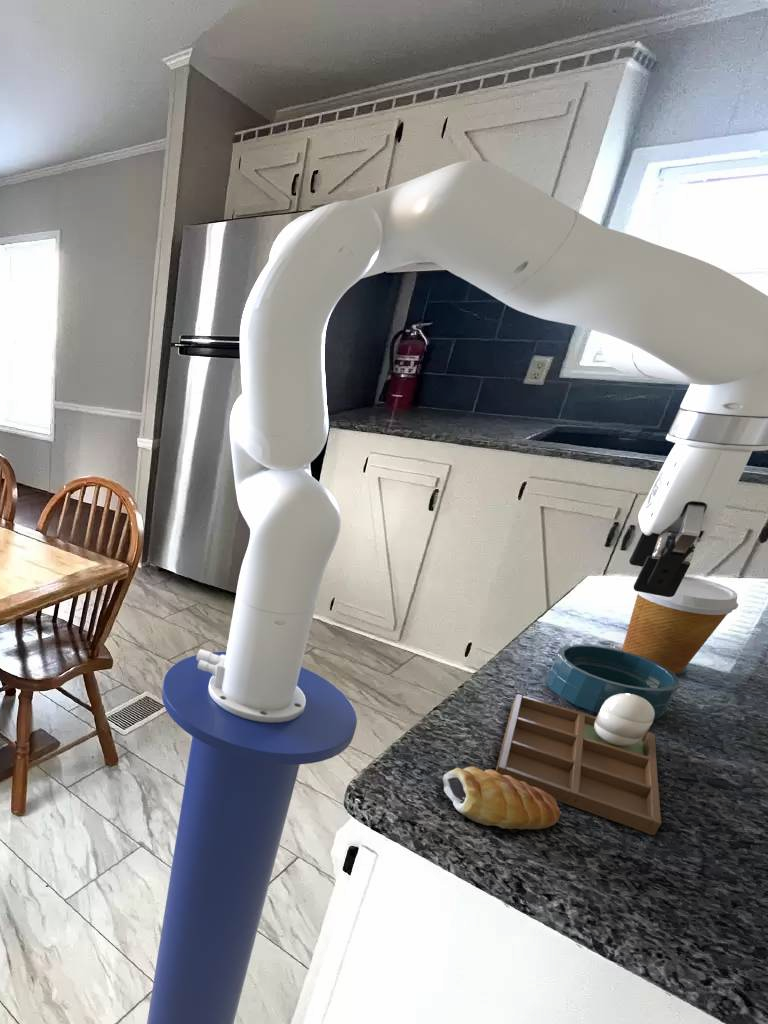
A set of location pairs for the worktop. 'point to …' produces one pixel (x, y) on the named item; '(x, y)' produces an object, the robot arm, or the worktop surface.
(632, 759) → the compartment tray
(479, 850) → the worktop surface
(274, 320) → the robot arm
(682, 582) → the disposable coffee cup
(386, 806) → the worktop surface
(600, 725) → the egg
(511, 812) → the pastry
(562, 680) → the bowl
